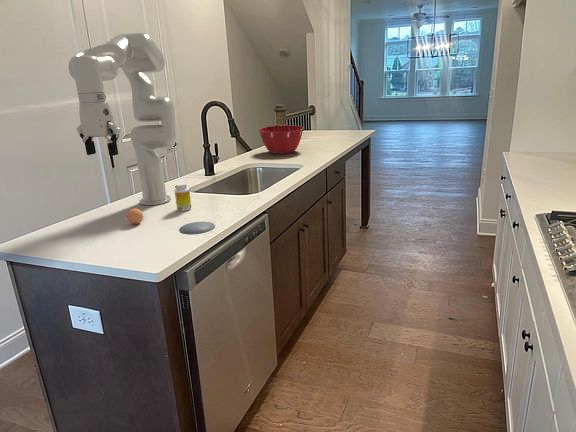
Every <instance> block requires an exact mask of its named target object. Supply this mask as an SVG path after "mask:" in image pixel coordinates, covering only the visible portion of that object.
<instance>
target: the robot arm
mask: <svg viewBox="0 0 576 432" xmlns="http://www.w3.org/2000/svg"><path fill="white" fill-rule="evenodd" d="M165 66H166V61H165V57H164V53H163V52H162V51H161V49H160V48H159V46H158V44H157V43H156V41H154V39H153V38H152V37H151V36H150V35H148V34H146V33H145V32H136V33H135V32H133V33H121V34H118V35H115V36H114V37H113V38H111V39H110V40H109V41H107V42H106V43H103V44H100V45H97V46H94V47H90V48H88V49H83V50H81V51H79V52H78V53H76V54H74V55H73V56H72V57H71V58H70V60H69V61H68V72H69V75H70V77H71V78H73V80H74V81H75V87H76V93H77V97H78V103H79V104H78V105H79V107H78V110H79V111H78V113H79V119H80V121H79V122H80V124H79V126H77V127H76V130H77V133H78V135H79V137H80V138H81V140H82V143H84V146H85V153H86V155H87V156H91V155H95V154H97V151H96V144H95V141H94V140H93V139H94V138H96V137H97V138H104V139H105V140H106V141H107V142H108V143H106V144H107V150H108V155H109V157H114V156H117V155H119V151H118V150H119V148H118V144H117V142H118V141H119V137H120V131H121V128H120V127H119V126H117V125H115V120H114V117H113V111H112V110H111V107H110V105H109V102H107V101H106V100H107V96H106V94H105V90H104V89H105V88H104V83H103V81H112V80H114V79H115V78H116V77H117V76H118V74H119V69H121V71H123V73H124V75H125V77H126V78H127V80H128V81H129V84H130V87H131V98H132V99H131V100H132V101H131V102H132V113H133V116H134V119H135V120H136V121H137V122H141V123H153V122H154V123H157V122H161V124H144V125H137V126H135V127H133V128H132V129H131V131H130V134H129V135H130V136H129V137H130V141H131V144H132V146H133V150H134V153H135V157H136V162H137V169H138V170H137V171H138V175H139V181H140V187H141V193H142V194H141V195H142V198H140V199H139V204H140V205H143V206H156V205H162V204H165V203H168V202H169V201H171V199H172V198H171V196H170V195H167V191H166V184H165V177H164V171H163V169H164V168H163V162H162V158H161V156H160V155H159V153H158V152H157V151H156V150H159V149H161V150H162V149H171V148H173V147H174V146H175V145H176V140H177V139H176V138H177V135H176V134H177V133H176V120H175V119H176V118H175V116H176V115H175V114H176V113H175V107H174V103H173V101H172V100H171V99H170V98H169V97H166V96H157V97H156V96H155V87H154V84H153V82H152V80H150V78H149V77H148V76H146V74H147V73H149V74H150V73H160V72H162V71H163V70H164V69H165Z"/></svg>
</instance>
